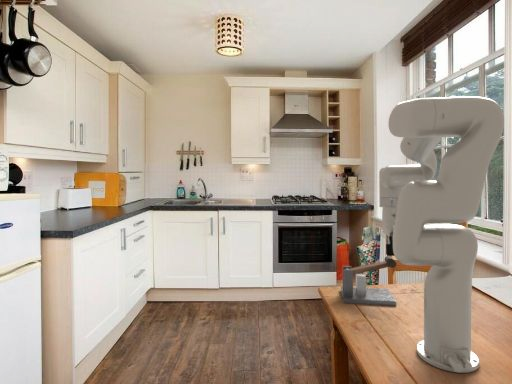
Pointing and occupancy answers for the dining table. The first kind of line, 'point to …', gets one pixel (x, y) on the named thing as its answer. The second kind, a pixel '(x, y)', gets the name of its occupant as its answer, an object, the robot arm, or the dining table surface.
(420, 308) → the dining table surface
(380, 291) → the base
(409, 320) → the dining table surface
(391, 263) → the lever
